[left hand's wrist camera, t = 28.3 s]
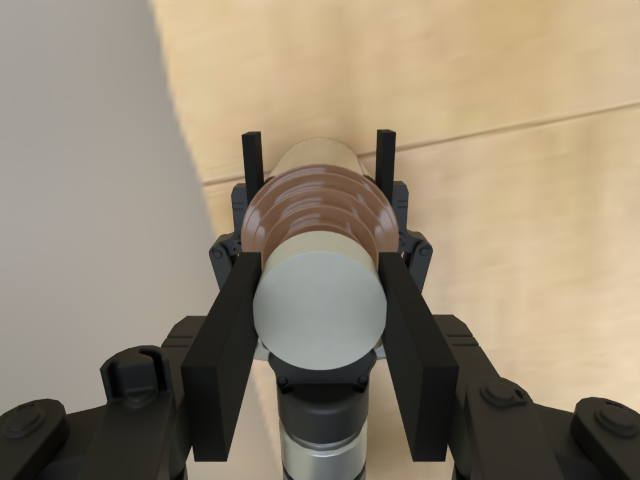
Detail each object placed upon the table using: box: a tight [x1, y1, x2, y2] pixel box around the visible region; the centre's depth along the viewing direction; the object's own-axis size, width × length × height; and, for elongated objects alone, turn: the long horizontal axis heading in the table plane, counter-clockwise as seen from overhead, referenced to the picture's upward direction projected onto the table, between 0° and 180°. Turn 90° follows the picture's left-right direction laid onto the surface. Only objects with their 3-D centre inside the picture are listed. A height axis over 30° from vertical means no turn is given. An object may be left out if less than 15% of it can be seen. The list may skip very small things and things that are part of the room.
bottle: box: [241, 138, 399, 272], centre depth 23 cm, size 8×8×20 cm
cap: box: [253, 231, 387, 370], centre depth 14 cm, size 4×4×2 cm
